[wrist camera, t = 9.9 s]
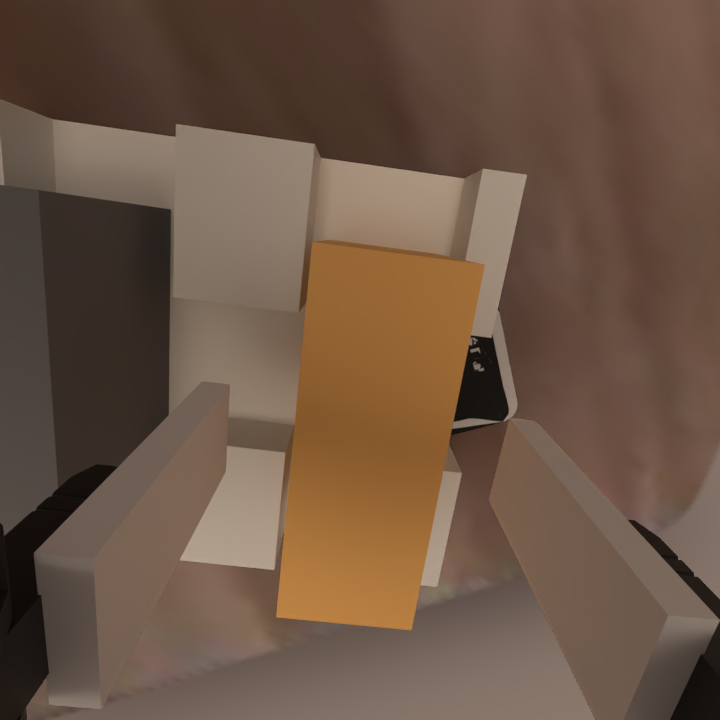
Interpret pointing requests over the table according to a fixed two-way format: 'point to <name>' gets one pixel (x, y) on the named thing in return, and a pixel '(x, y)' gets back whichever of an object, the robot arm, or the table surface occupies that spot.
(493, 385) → the smartphone
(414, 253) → the tall orange brick
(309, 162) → the rack
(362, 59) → the table surface
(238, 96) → the table surface
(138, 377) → the dark gray brick
